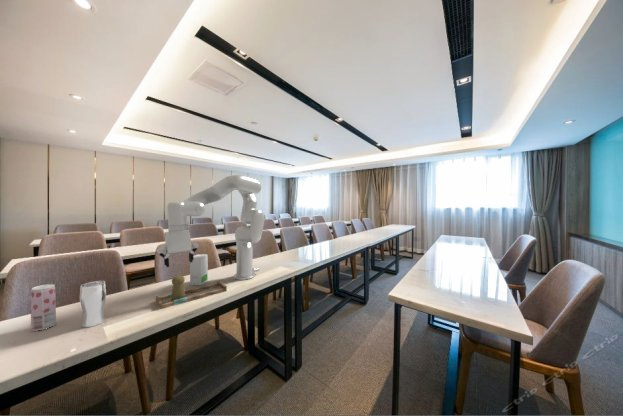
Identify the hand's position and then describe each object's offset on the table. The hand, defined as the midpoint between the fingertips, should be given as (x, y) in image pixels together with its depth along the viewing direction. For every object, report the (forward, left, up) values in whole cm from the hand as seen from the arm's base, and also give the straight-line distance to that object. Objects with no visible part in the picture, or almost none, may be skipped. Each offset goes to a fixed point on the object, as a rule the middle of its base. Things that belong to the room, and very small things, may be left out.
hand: (179, 264), depth 102 cm
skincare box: (-13, -17, -17) cm, 27 cm away
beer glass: (+29, +1, -17) cm, 33 cm away
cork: (+1, 0, -17) cm, 17 cm away
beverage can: (+42, -7, -17) cm, 46 cm away
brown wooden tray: (-6, 0, -17) cm, 18 cm away
